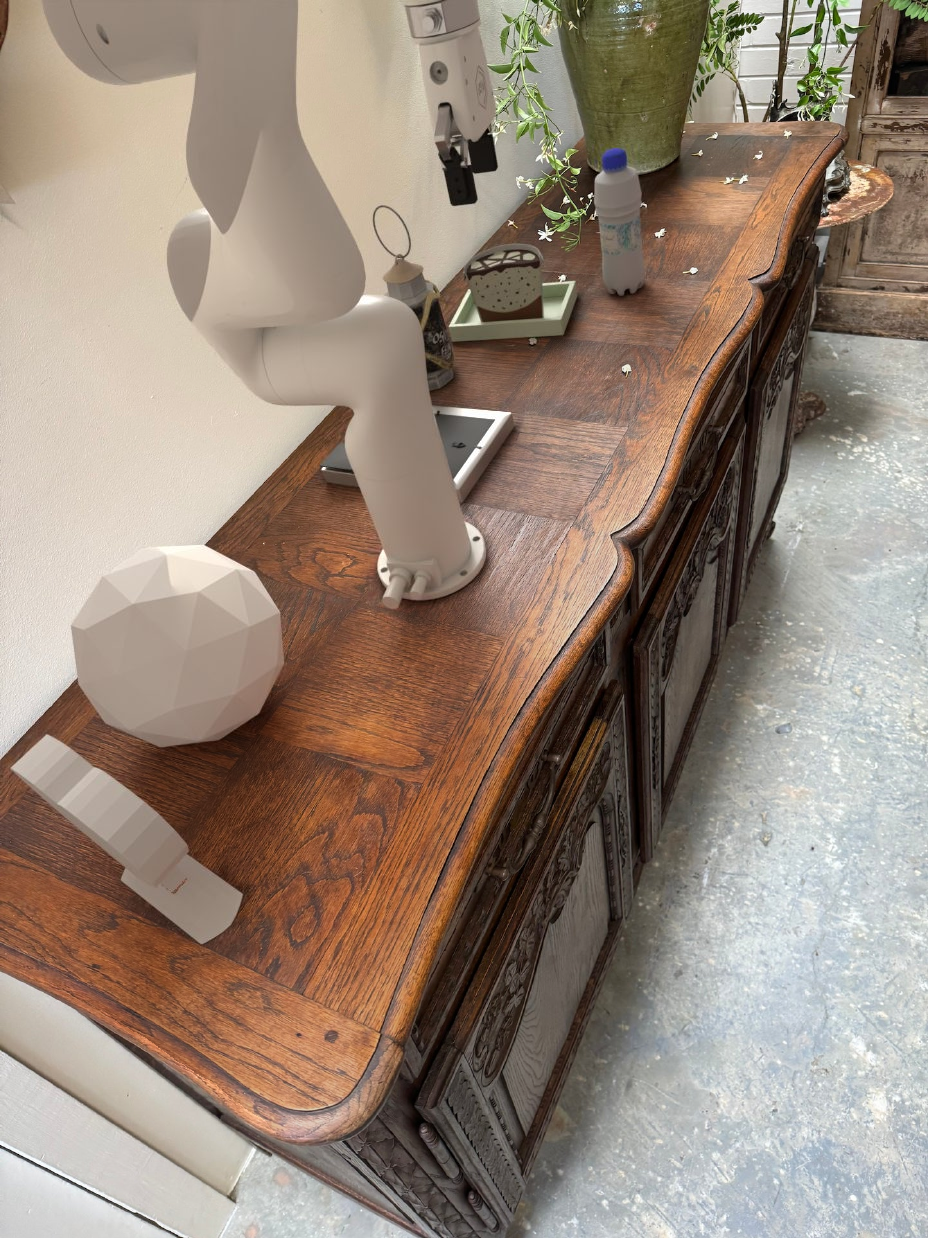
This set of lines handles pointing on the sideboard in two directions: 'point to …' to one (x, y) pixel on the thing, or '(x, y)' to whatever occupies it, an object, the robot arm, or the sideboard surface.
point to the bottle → (619, 223)
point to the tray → (554, 323)
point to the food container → (506, 283)
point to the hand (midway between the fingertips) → (475, 187)
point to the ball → (178, 645)
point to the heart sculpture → (131, 839)
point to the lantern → (422, 312)
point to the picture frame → (446, 446)
